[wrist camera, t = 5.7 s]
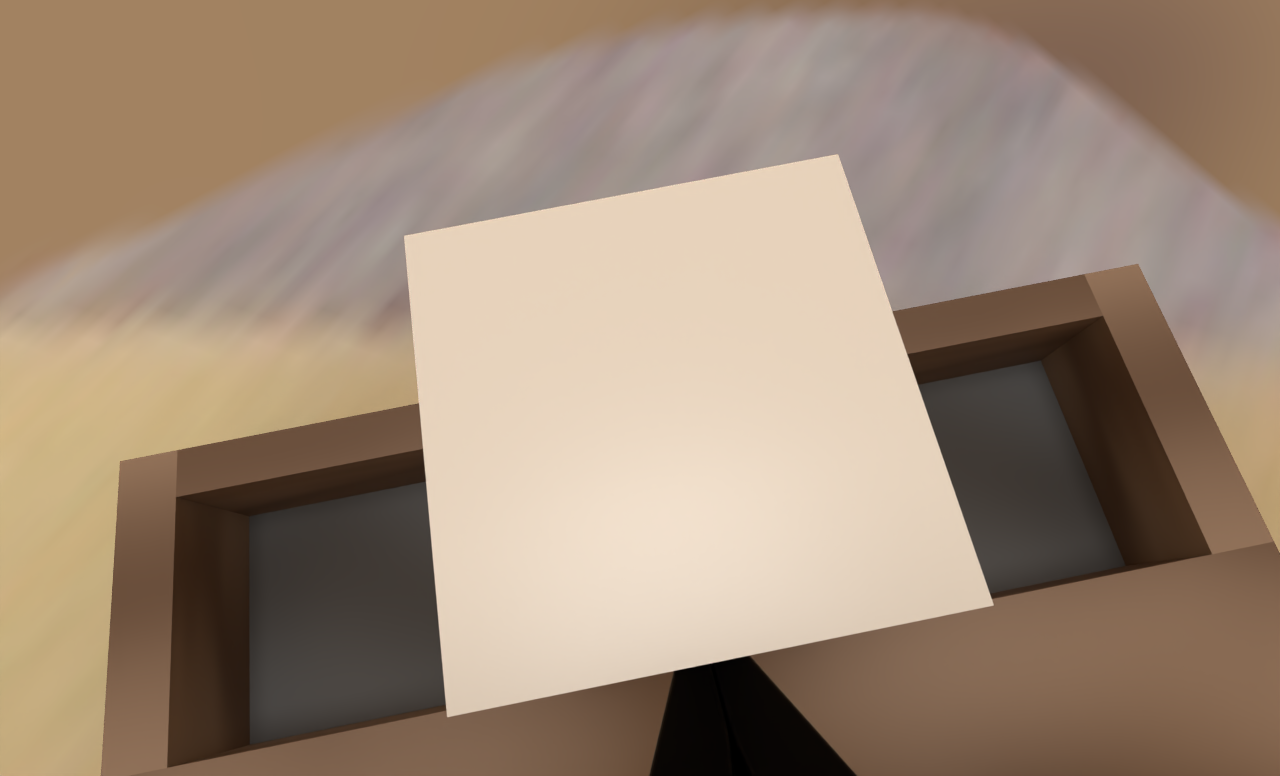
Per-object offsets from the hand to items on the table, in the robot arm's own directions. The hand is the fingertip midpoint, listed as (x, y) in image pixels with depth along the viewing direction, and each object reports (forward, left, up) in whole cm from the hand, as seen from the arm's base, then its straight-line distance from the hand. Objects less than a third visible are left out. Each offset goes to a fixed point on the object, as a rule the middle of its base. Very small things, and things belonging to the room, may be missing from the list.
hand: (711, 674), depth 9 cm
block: (+2, -2, -4) cm, 5 cm away
